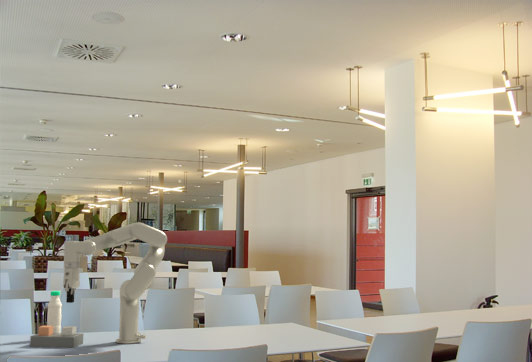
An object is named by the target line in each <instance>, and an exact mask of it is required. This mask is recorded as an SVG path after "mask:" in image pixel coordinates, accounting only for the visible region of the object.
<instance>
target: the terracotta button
mask: <svg viewBox="0 0 532 362" xmlns="http://www.w3.org/2000/svg"><path fill="white" fill-rule="evenodd" d="M37 334H38V335H41V336H49V335H52V334H53V326H47V325H41V326H38V333H37Z"/></svg>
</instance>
